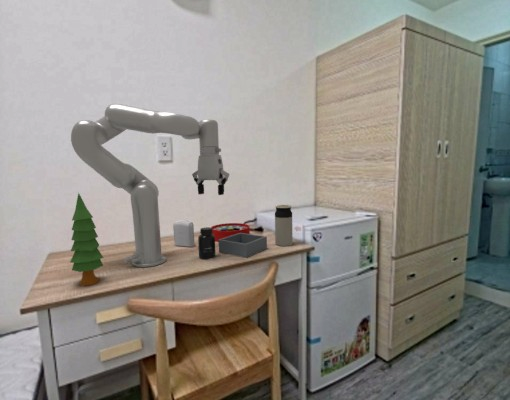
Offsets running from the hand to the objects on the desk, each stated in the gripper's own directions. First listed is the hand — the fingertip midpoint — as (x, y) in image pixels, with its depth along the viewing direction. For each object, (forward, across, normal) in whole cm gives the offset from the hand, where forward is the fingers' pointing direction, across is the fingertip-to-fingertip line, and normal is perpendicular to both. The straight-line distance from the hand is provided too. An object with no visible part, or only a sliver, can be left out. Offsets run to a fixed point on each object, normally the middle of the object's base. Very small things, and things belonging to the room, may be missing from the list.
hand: (210, 194), depth 122 cm
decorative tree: (+26, +23, +39) cm, 52 cm away
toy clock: (+26, +9, -29) cm, 40 cm away
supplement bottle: (+26, +1, +2) cm, 26 cm away
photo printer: (+26, +22, -8) cm, 35 cm away
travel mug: (+26, -21, -27) cm, 43 cm away
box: (+26, -8, -11) cm, 29 cm away
